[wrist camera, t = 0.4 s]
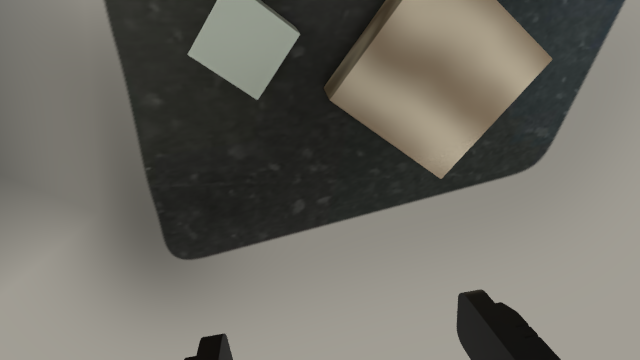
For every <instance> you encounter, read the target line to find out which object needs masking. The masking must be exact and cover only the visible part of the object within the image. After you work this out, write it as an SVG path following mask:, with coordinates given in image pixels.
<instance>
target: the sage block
mask: <svg viewBox="0 0 640 360" xmlns="http://www.w3.org/2000/svg"><path fill="white" fill-rule="evenodd" d="M299 36H300V33H299V32H298V30H297V28H296V27H295V26H294V25H292V24H291V23H290V22H288V21H287V20H286V19H284V18H283V17H282V16H281V15H279V14H278V13H277V12H275V11H274V10H273V9H271V8H270V7H269V6H268V5H266V4H265V3H264V2H262V1H261V0H217V2H216V3H215V5H214V7H213V9H212V11H211V13H210V14H209V16H208V18H207V20H206V22H205V24H204V25H203V27H202V29H201V31H200V33H199V35H198V36H197V38H196V40H195V42H194V44H193V46H192V47H191V49H190V51H189V53H188V55H189V56H190V57H192V58H194V59H195V60H197V61H198V62H200V63H201V64H203V65H204V66H206V67H207V68H209V69H210V70H212V71H214V72H215V73H217V74H218V75H220V76H221V77H223V78H224V79H226V80H227V81H229V82H230V83H232V84H234V85H235V86H237V87H238V88H240V89H241V90H243V91H244V92H246V93H247V94H249V95H250V96H252V97H253V98H255V99H257V100H258V99H259V97H260V96H261V94H262V93H263V91H264V90H265V88H266V86H267V85H268V83H269V82H270V80H271V79H272V77H273V76H274V74H275V73H276V71H277V70H278V68H279V66H280V65H281V63H282V62H283V60H284V59H285V57H286V56H287V54H288V53H289V51H290V50H291V48H292V46H293V45H294V43H295V42H296V40H297V39H298V37H299Z"/></svg>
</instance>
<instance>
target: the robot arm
mask: <svg viewBox="0 0 640 360" xmlns="http://www.w3.org/2000/svg"><path fill="white" fill-rule="evenodd" d="M457 333H458V337H459V340H460V342H461V344H462V346H463V348H464V350H465V351H466V353H467V354H468V356H469V357H470V359H471V360H561V359H560V358H559V357H558V356H557V355H556V354H555V353H554V352H553V351H552V350H551V349H550V347H549V346H548V345H547V344H546V343H545V342H544V341H543V340H542V339H541V338H540V337H538V335H537V333H536V332H535V331H534V330H533V329H532V328H531V327H529V326H528V323H527V322H526V321H525V320H524V319H523V318H522V317H521V316H520V315H519V314H518V313H517V312H516V311H515V310H513V309H511V308H510V307H508V306H507V305H505V304H503V303H501V302H500V303H494V302H493V300H492V299H491V298H490V297H489V296H488V295H487V293H485V291H483V290H475V291H470V292H464V293H460V294H459V296H458V311H457ZM184 360H233V358H232V354H231V351H230V347H229V343H228V339H227V336H226V334H219V335H213V336H208V337H203V338H201V340H200V343H199V347H198V351H197V356H193V357H188V358H185V359H184Z"/></svg>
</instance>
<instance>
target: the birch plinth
mask: <svg viewBox="0 0 640 360" xmlns="http://www.w3.org/2000/svg"><path fill="white" fill-rule="evenodd" d="M551 60H552V58H551V57H550V56H549V55H548V54H547V53H546V52H545V51H544V50H543V49H542V48H541V46H540V45H539V44H538V43H537V42H536V41H535V40H534V39H533V38H532V37H531V36H530V35H529V34H528V33H527V32H526V31H525V30H524V29H523V28H522V26H521V25H520V24H519V23H518V22H517V21H516V20H515V19H514V18H513V17H512V16H511V15H510V14H509V13H508V12H507V11H506V10H505V9H504V8H503V6H502V5H501V4H500V3H499V2H498V1H497V0H386V1H385V2H384V3H383V5H382V6H381V8H380V9H379V10H378V12H377V13H376V15H375V16H374V17H373V19H372V20H371V22H370V23H369V24H368V26H367V27H366V29H365V30H364V31H363V33H362V34H361V36H360V37H359V38H358V40H357V41H356V43H355V44H354V45H353V47H352V48H351V50H350V51H349V52H348V54H347V55H346V57H345V58H344V59H343V61H342V62H341V64H340V65H339V67H338V68H337V69H336V71H335V72H334V74H333V75H332V76H331V78H330V79H329V81H328V82H327V83H326V85H325V86H324V90H325V92H326V94H327V96H328V98H329V100H330V101H332V102H333V103H334V104H336V105H337V106H339V107H340V108H341V109H343V110H344V111H346V112H347V113H349V114H350V115H351V116H353V117H354V118H356V119H357V120H358V121H360V122H361V123H363V124H364V125H365V126H367V127H368V128H370V129H371V130H372V131H374V132H375V133H377V134H378V135H380V136H381V137H382V138H384V139H385V140H387V141H388V142H389V143H391V144H392V145H394V146H395V147H396V148H398V149H399V150H401V151H402V152H404V153H405V154H406V155H408V156H409V157H411V158H412V159H413V160H415V161H416V162H418V163H419V164H420V165H422V166H423V167H425V168H426V169H427V170H429V171H430V172H432V173H433V174H435V175H436V176H437V177H439V178H440V179H442V178H443V176H444V175H445V174H446V173H447V172H448V171H449V170H450V169H451V168H452V167H453V166H454V165H455V164H456V163H457V161H458V160H459V159H460V158H461V157H462V156H463V155H464V154H465V153H466V152H467V151H468V150H469V149H470V147H471V146H472V145H473V144H474V143H475V142H476V141H477V140H478V139H479V138H480V137H481V136H482V135H483V134H484V132H485V131H486V130H487V129H488V128H489V127H490V126H491V125H492V124H493V123H494V122H495V121H496V120H497V118H498V117H499V116H500V115H501V114H502V113H503V112H504V111H505V110H506V109H507V108H508V107H509V106H510V105H511V103H512V102H513V101H514V100H515V99H516V98H517V97H518V96H519V95H520V94H521V93H522V92H523V91H524V89H525V88H526V87H527V86H528V85H529V84H530V83H531V82H532V81H533V80H534V79H535V78H536V77H537V76H538V74H539V73H540V72H541V71H542V70H543V69H544V68H545V67H546V66H547V65H548V64H549V63H550V62H551Z"/></svg>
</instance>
